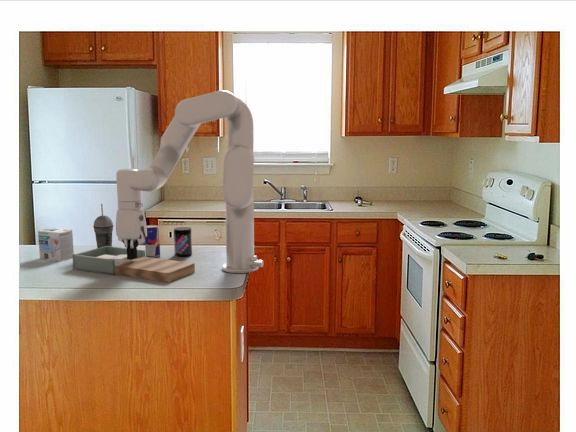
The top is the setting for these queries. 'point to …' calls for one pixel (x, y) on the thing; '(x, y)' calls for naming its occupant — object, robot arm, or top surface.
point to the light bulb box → (56, 244)
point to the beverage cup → (103, 230)
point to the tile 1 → (105, 256)
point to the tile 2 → (120, 259)
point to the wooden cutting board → (155, 269)
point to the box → (100, 259)
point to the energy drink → (152, 242)
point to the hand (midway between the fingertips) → (132, 258)
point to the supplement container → (182, 241)
